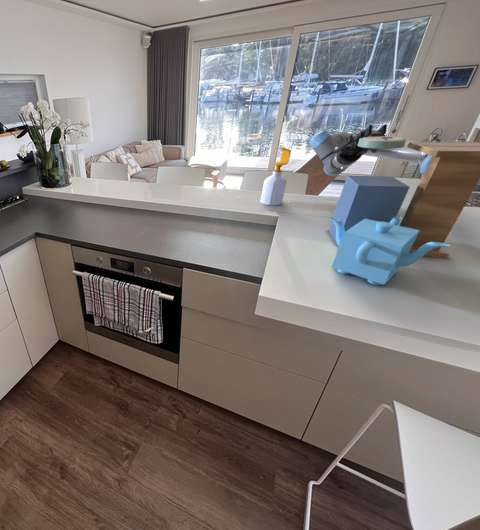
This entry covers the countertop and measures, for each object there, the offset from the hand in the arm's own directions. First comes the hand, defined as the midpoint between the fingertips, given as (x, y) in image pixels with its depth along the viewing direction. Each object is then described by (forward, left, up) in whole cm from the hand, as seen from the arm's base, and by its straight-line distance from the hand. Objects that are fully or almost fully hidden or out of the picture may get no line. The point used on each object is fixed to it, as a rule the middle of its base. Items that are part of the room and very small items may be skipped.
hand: (377, 129), depth 91 cm
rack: (-18, +8, -33) cm, 38 cm away
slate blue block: (-4, +12, -33) cm, 35 cm away
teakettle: (-9, +33, -33) cm, 48 cm away
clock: (0, +1, -4) cm, 4 cm away
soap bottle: (+30, -14, -33) cm, 47 cm away
